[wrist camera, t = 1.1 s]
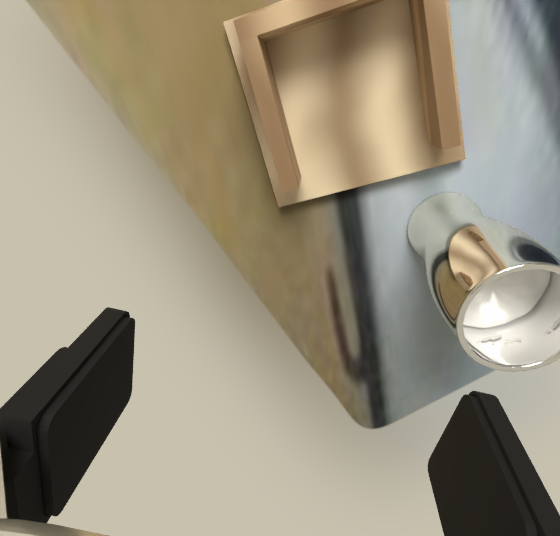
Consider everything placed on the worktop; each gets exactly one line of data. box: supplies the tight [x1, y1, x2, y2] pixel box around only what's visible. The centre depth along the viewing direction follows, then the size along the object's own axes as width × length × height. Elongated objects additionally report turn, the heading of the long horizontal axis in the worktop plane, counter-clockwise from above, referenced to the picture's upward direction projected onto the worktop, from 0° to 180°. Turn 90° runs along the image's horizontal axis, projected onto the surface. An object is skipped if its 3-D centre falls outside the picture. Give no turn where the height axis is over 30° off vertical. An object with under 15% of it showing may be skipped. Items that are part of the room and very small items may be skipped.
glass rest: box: [224, 0, 465, 207], centre depth 29 cm, size 15×14×5 cm
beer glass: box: [407, 192, 560, 372], centre depth 28 cm, size 7×7×15 cm
